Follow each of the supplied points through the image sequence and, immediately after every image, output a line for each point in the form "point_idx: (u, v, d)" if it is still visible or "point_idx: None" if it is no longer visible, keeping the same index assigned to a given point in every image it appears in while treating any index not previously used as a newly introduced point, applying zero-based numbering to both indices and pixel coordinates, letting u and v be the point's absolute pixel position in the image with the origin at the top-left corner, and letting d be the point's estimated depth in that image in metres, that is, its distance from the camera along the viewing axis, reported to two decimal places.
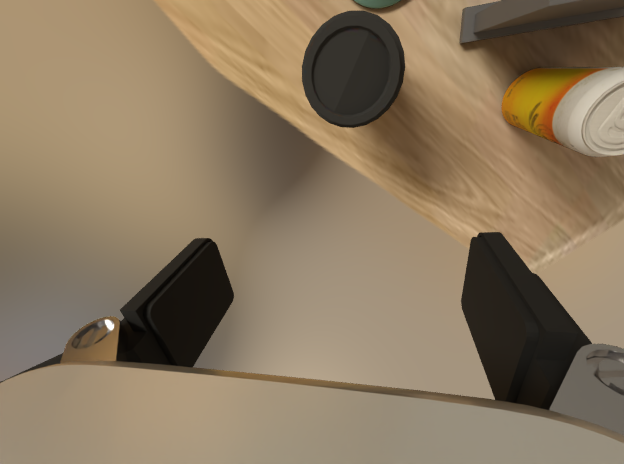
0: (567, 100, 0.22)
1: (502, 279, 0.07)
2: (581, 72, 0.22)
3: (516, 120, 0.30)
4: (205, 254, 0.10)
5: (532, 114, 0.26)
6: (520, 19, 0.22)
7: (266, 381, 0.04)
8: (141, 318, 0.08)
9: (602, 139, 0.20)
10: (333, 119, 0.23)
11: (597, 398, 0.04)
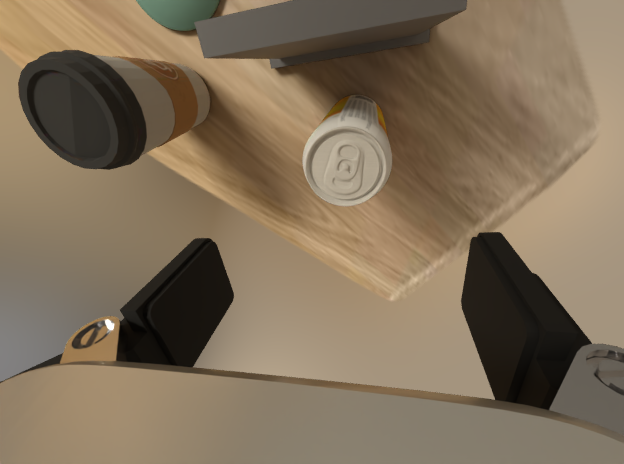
0: None
1: (502, 279, 0.07)
2: (332, 112, 0.21)
3: None
4: (205, 254, 0.10)
5: None
6: (266, 55, 0.21)
7: (266, 381, 0.04)
8: (141, 318, 0.08)
9: (331, 189, 0.19)
10: (75, 163, 0.22)
11: (597, 398, 0.04)
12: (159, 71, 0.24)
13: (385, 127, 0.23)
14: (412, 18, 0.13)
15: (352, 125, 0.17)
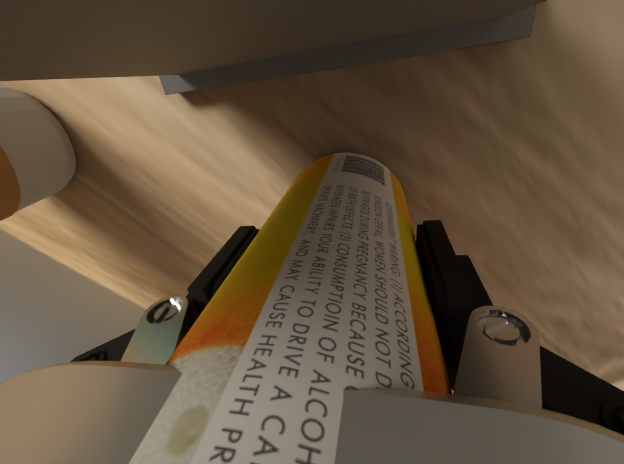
0: None
1: (430, 258, 0.08)
2: (243, 282, 0.06)
3: None
4: (252, 240, 0.10)
5: None
6: (1, 73, 0.06)
7: None
8: (207, 297, 0.08)
9: None
10: None
11: (488, 352, 0.05)
12: None
13: (427, 295, 0.07)
14: None
15: None
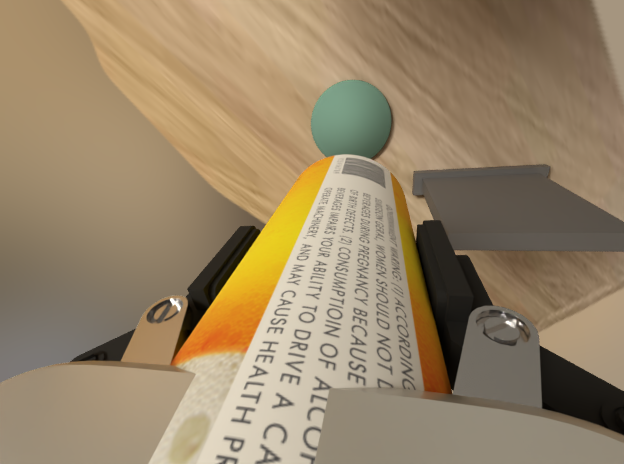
0: None
1: (430, 258, 0.08)
2: (244, 287, 0.06)
3: None
4: (252, 240, 0.10)
5: None
6: None
7: None
8: (207, 297, 0.08)
9: None
10: None
11: (488, 352, 0.05)
12: None
13: (428, 299, 0.07)
14: (597, 250, 0.22)
15: None
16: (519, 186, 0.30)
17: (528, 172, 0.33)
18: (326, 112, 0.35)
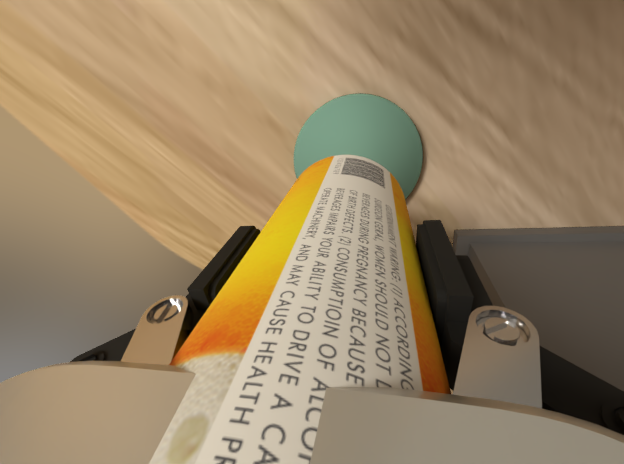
0: None
1: (430, 258, 0.08)
2: (243, 287, 0.06)
3: None
4: (252, 240, 0.10)
5: None
6: None
7: None
8: (206, 297, 0.08)
9: None
10: None
11: (488, 352, 0.05)
12: None
13: (427, 299, 0.07)
14: None
15: None
16: None
17: None
18: (316, 144, 0.22)
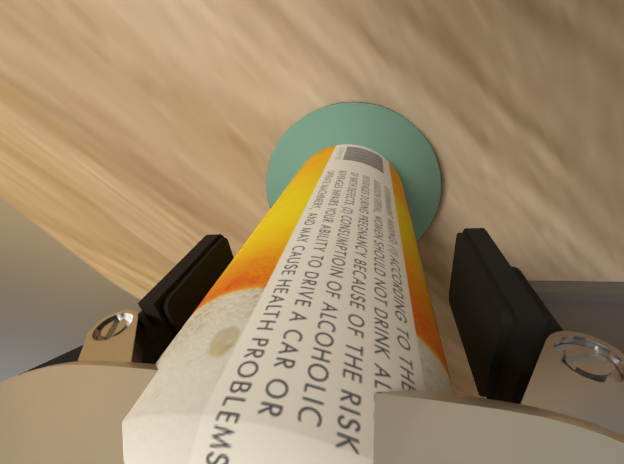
0: None
1: (482, 272, 0.07)
2: (259, 246, 0.07)
3: None
4: (217, 250, 0.10)
5: None
6: None
7: None
8: (159, 311, 0.08)
9: None
10: None
11: (566, 382, 0.05)
12: None
13: (421, 265, 0.08)
14: None
15: None
16: None
17: None
18: (295, 170, 0.16)
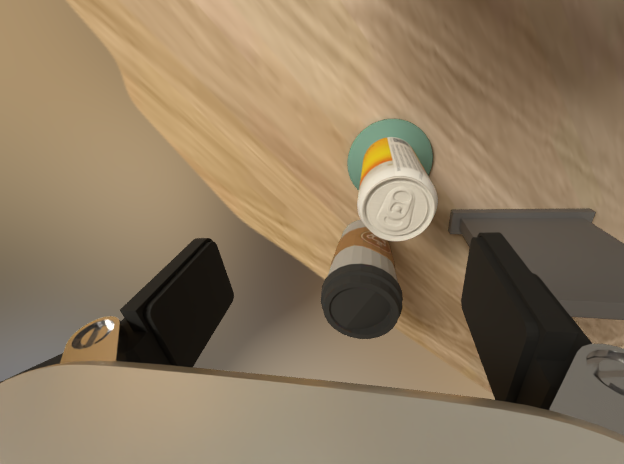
0: (360, 185, 0.23)
1: (502, 279, 0.07)
2: (382, 158, 0.24)
3: None
4: (205, 254, 0.10)
5: None
6: None
7: (266, 381, 0.04)
8: (141, 318, 0.08)
9: (382, 226, 0.22)
10: (344, 333, 0.29)
11: (597, 398, 0.04)
12: (387, 250, 0.32)
13: None
14: None
15: (407, 175, 0.20)
16: (568, 235, 0.29)
17: (572, 216, 0.33)
18: (364, 149, 0.34)
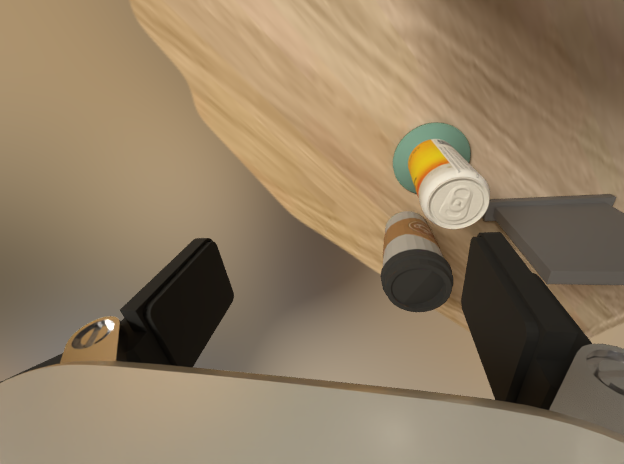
0: (422, 184, 0.28)
1: (502, 279, 0.07)
2: (438, 160, 0.29)
3: None
4: (205, 254, 0.10)
5: (414, 184, 0.33)
6: None
7: (266, 381, 0.04)
8: (141, 318, 0.08)
9: (443, 217, 0.27)
10: (402, 308, 0.34)
11: (597, 398, 0.04)
12: (433, 237, 0.37)
13: None
14: None
15: (467, 175, 0.25)
16: (593, 218, 0.34)
17: (595, 201, 0.37)
18: (409, 150, 0.39)
